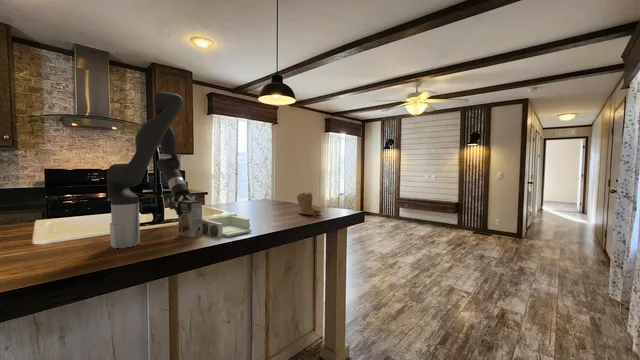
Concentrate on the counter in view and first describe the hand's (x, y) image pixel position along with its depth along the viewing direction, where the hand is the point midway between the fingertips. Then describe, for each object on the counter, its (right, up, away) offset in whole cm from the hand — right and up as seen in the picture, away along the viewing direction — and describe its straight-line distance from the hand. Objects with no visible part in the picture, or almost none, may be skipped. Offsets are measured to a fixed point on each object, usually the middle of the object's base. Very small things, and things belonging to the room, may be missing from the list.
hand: (189, 213), depth 131 cm
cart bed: (+16, -10, +7) cm, 20 cm away
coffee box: (0, -10, 0) cm, 10 cm away
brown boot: (+53, -8, +57) cm, 78 cm away
